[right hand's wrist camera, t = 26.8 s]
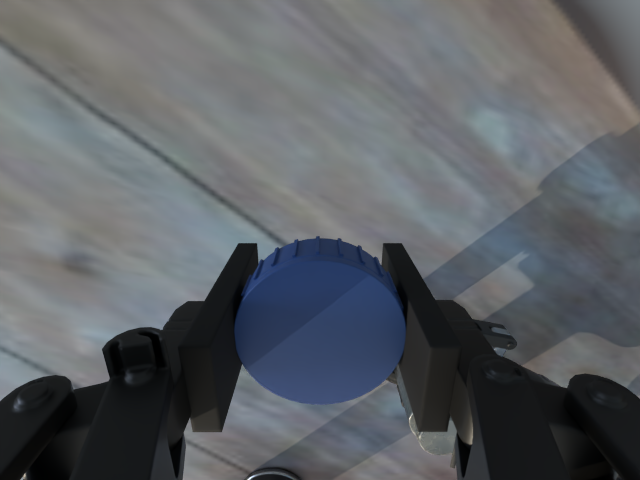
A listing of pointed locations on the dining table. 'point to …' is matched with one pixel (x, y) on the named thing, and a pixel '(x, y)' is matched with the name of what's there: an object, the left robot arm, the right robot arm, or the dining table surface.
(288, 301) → the lid
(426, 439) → the jar
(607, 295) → the dining table surface
